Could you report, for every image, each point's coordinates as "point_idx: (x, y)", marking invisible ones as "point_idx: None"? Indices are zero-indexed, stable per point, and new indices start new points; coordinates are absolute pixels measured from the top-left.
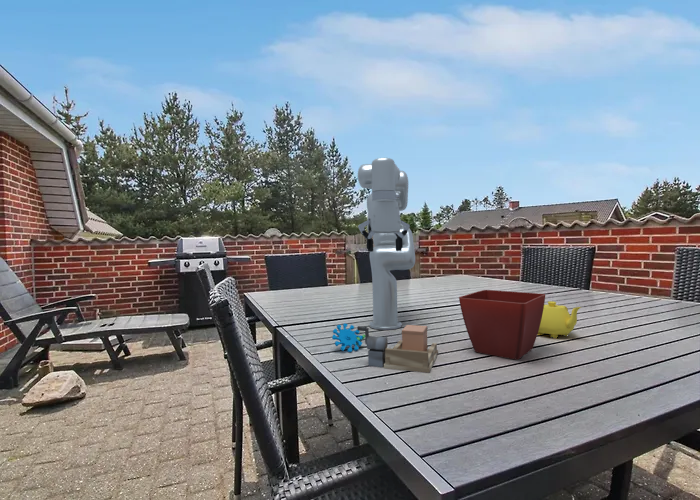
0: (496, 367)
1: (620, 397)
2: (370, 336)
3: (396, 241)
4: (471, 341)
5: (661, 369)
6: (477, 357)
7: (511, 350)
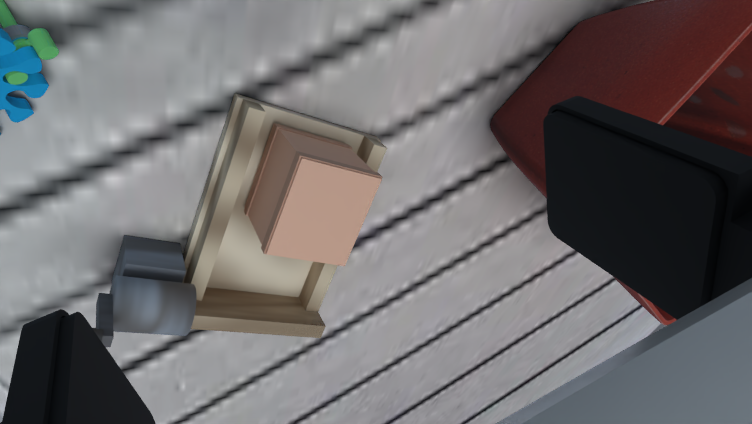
0: (478, 246)
1: (574, 350)
2: (122, 322)
3: (665, 204)
4: (498, 140)
5: None
6: (472, 173)
7: None
